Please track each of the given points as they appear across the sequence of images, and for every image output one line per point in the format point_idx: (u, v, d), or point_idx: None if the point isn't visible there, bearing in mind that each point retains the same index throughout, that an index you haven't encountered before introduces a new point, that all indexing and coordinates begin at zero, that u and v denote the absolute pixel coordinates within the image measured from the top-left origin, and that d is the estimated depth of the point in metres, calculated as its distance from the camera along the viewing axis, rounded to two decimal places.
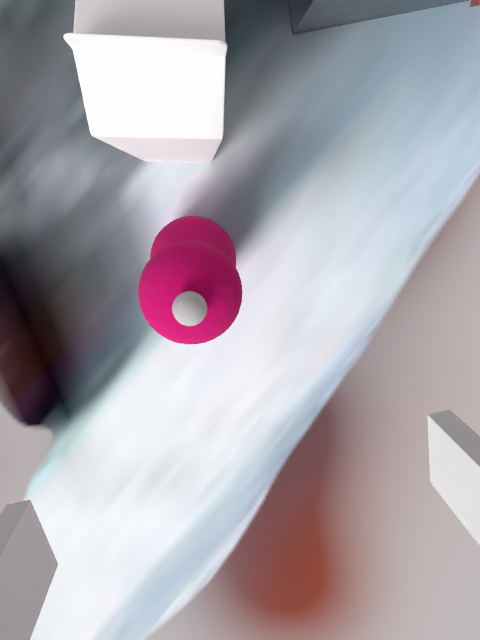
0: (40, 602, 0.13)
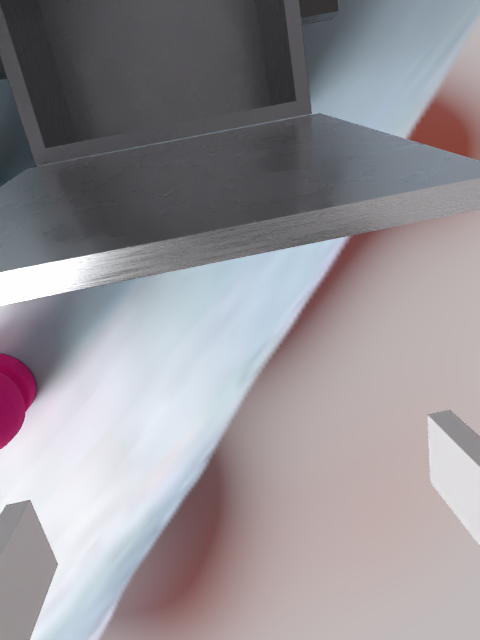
0: (40, 602, 0.13)
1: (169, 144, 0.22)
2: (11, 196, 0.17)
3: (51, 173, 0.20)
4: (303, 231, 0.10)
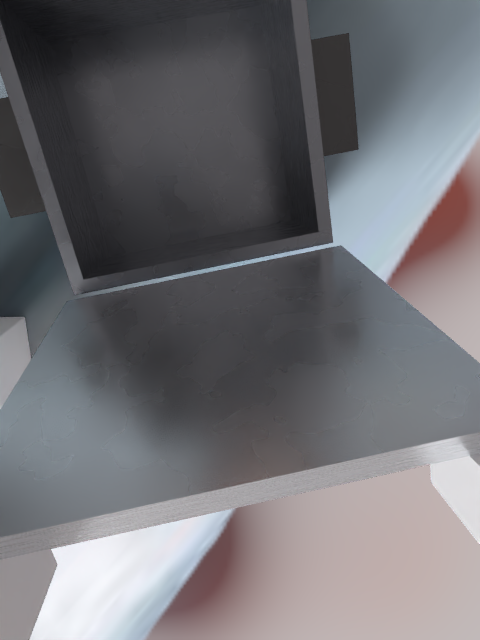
0: (40, 602, 0.13)
1: (201, 280, 0.23)
2: (60, 359, 0.18)
3: (92, 317, 0.21)
4: (350, 473, 0.11)
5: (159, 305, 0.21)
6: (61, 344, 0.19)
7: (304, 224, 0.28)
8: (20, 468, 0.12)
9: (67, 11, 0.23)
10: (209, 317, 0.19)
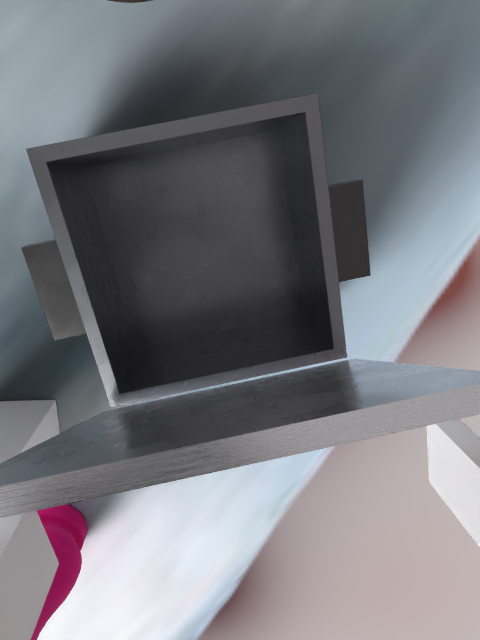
0: (42, 601, 0.13)
1: (225, 387, 0.26)
2: (88, 428, 0.20)
3: (124, 412, 0.23)
4: (339, 431, 0.11)
5: (184, 399, 0.23)
6: (92, 423, 0.21)
7: (319, 329, 0.31)
8: (34, 463, 0.13)
9: (107, 156, 0.26)
10: (227, 395, 0.21)
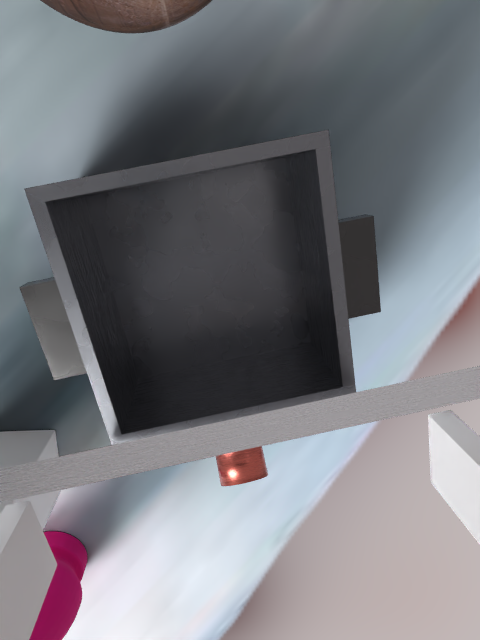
0: (40, 603, 0.13)
1: None
2: None
3: None
4: (337, 415, 0.11)
5: None
6: None
7: (326, 362, 0.30)
8: None
9: (108, 190, 0.25)
10: None
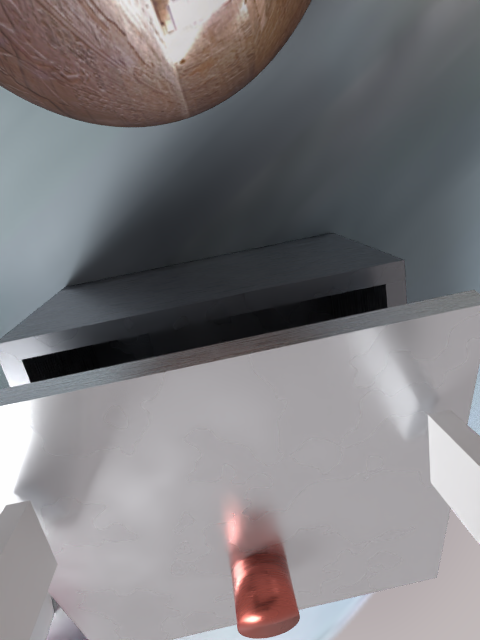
0: (40, 602, 0.13)
1: None
2: None
3: None
4: (310, 334, 0.12)
5: None
6: None
7: None
8: None
9: None
10: None
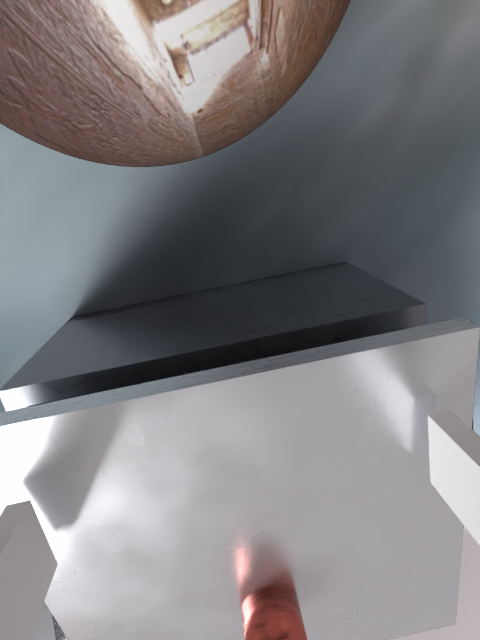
0: (40, 602, 0.13)
1: None
2: None
3: None
4: (312, 355, 0.13)
5: None
6: None
7: None
8: None
9: None
10: None
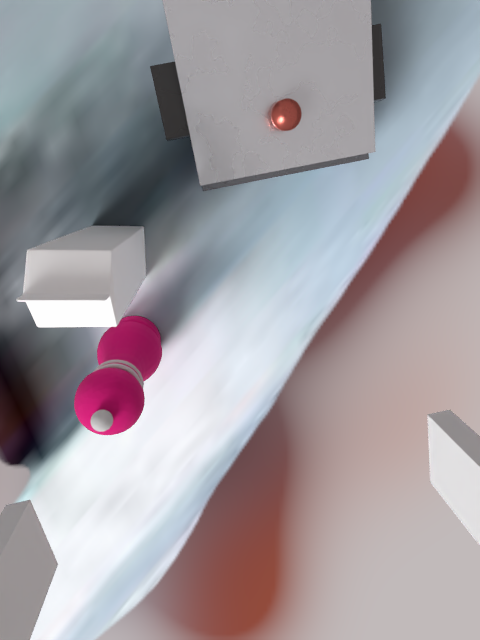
0: (40, 602, 0.13)
1: None
2: None
3: None
4: None
5: None
6: None
7: None
8: None
9: None
10: None
